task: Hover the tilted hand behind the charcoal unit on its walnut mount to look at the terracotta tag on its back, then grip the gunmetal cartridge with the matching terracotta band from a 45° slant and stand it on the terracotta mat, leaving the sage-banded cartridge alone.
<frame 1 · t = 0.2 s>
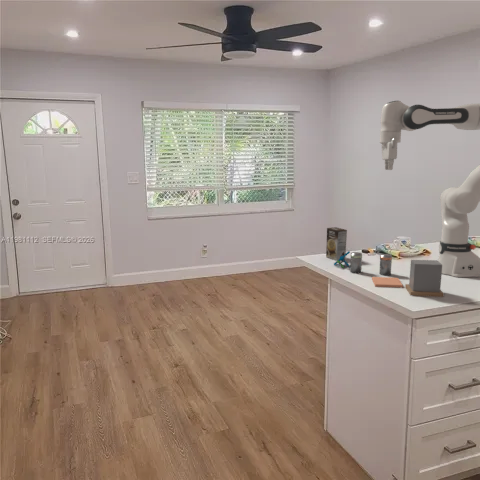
hand: (388, 169, 194), 47 cm above the table, tool pointing down, fingers open, 8 cm apart
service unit: (423, 292, 170), on the table
coffee box: (335, 258, 227), on the table
blue toy figure: (341, 266, 212), on the table
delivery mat: (386, 283, 183), on the table
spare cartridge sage: (355, 272, 200), on the table
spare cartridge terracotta: (385, 274, 196), on the table
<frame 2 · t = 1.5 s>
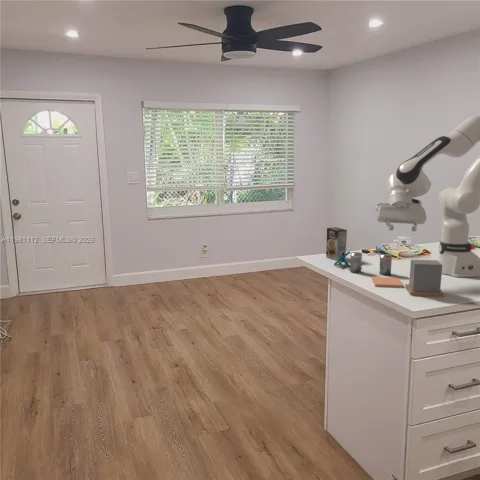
hand: (402, 230, 181), 23 cm above the table, tool tilted 45°, fingers open, 8 cm apart
nothing on the table moved.
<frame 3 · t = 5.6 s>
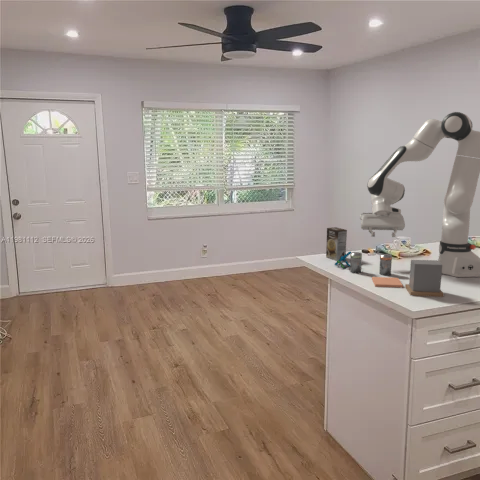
hand: (383, 236, 203), 16 cm above the table, tool tilted 45°, fingers open, 8 cm apart
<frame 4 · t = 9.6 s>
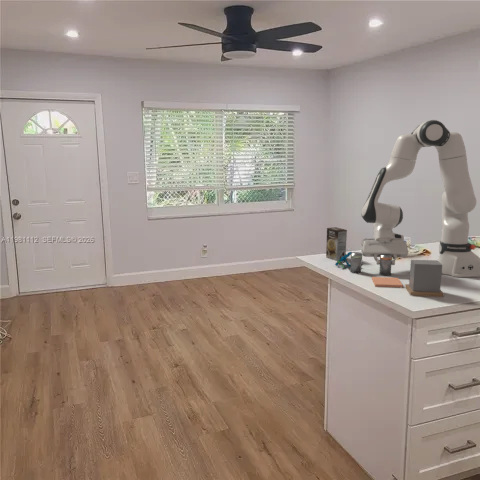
hand: (385, 264, 195), 5 cm above the table, tool tilted 45°, fingers closed on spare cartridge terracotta, 5 cm apart
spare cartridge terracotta: (385, 274, 196), on the table, touching gripper
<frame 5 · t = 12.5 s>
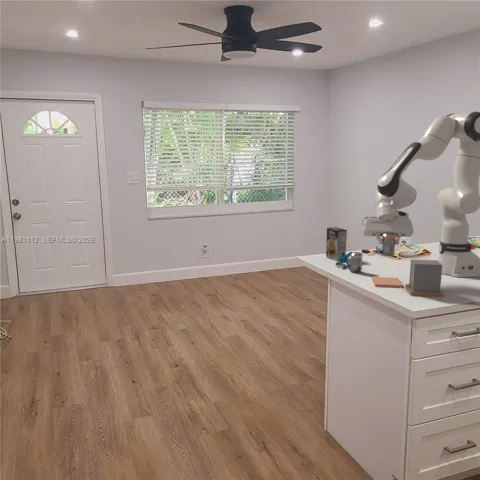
hand: (389, 243, 179), 17 cm above the table, tool tilted 45°, fingers closed on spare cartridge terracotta, 5 cm apart
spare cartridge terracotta: (388, 254, 180), point 13 cm above the table, touching gripper
when the fingers open (7 cm above the table, at t = 15.3 s): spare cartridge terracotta drops 1 cm, resting on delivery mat.
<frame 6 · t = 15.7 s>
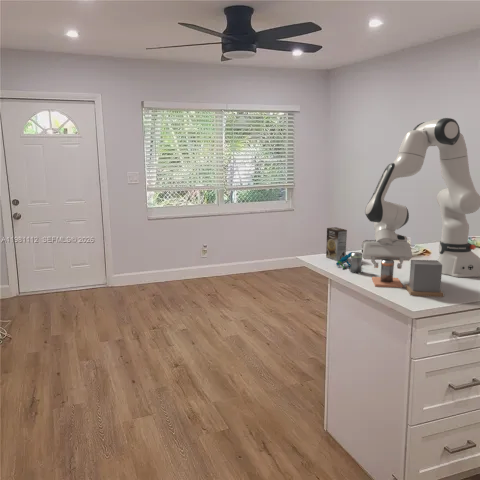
hand: (388, 267, 181), 7 cm above the table, tool tilted 45°, fingers open, 8 cm apart
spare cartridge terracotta: (386, 280, 182), point 1 cm above the table, touching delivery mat
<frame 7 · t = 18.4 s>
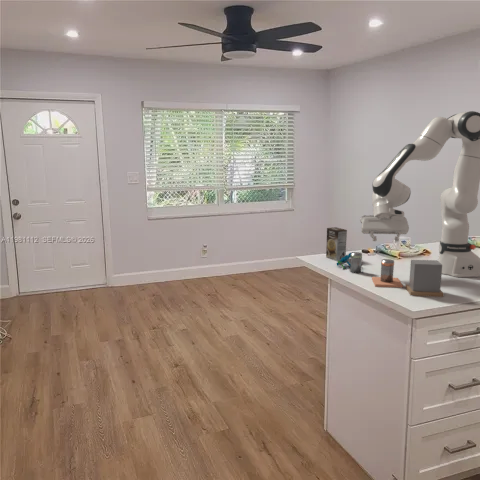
hand: (385, 240, 188), 17 cm above the table, tool tilted 45°, fingers open, 8 cm apart
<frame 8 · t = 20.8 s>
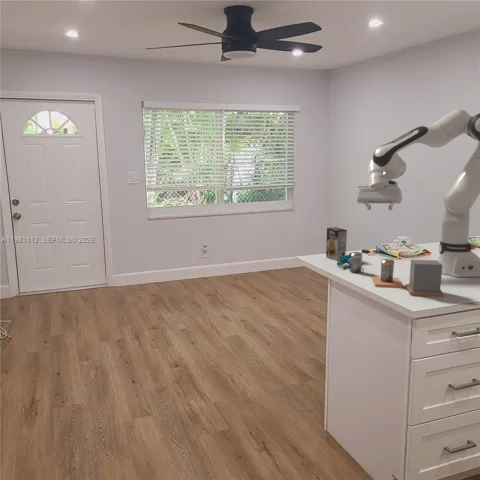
hand: (379, 209, 196), 29 cm above the table, tool tilted 45°, fingers open, 8 cm apart
at the end: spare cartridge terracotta inside the target area on the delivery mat (0.1 cm from its centre), point 1.0 cm above the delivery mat's base; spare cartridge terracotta tilted 1°; the gripper is holding nothing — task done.
